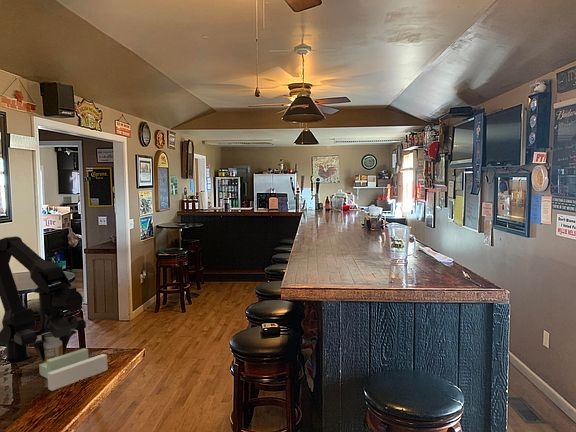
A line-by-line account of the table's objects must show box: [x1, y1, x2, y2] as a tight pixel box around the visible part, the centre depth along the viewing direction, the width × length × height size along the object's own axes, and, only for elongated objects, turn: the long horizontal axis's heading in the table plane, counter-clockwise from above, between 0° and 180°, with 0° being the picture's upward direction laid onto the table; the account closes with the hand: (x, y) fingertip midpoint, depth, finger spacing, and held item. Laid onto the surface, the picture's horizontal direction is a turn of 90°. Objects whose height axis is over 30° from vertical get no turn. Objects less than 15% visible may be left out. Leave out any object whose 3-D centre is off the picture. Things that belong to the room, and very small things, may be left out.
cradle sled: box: [38, 347, 90, 380], centre depth 125 cm, size 7×11×6 cm, turn 143°
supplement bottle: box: [42, 333, 63, 363], centre depth 129 cm, size 5×5×10 cm
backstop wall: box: [47, 353, 109, 392], centre depth 120 cm, size 2×16×4 cm, turn 143°
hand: (53, 357), depth 130 cm, fingers closed on supplement bottle, 5 cm apart
